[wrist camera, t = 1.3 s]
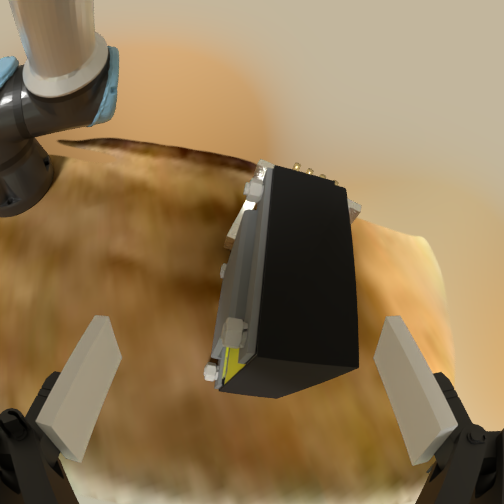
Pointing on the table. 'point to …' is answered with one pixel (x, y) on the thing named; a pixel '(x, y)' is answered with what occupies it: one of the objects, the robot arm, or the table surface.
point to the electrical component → (287, 290)
